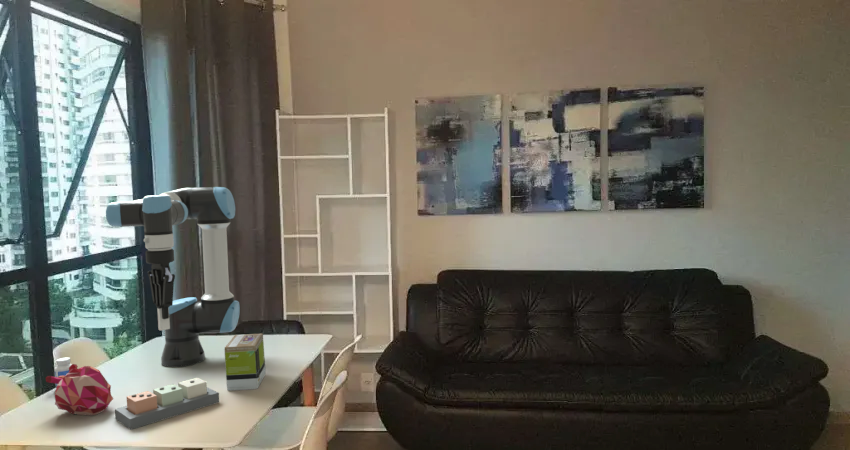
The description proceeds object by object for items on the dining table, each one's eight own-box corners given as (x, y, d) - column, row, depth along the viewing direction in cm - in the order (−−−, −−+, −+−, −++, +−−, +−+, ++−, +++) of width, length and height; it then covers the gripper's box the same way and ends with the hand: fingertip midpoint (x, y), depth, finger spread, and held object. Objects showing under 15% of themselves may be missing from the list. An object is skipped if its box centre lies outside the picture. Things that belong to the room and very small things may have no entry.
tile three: (127, 410, 172) (126, 395, 172) (148, 404, 177) (147, 389, 176) (135, 415, 168) (134, 400, 168) (157, 409, 173) (156, 394, 172)
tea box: (236, 375, 208) (234, 333, 207) (266, 374, 209) (264, 332, 208) (226, 391, 193) (223, 346, 192) (258, 389, 194) (256, 344, 193)
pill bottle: (78, 386, 201) (76, 357, 200) (64, 391, 196) (62, 362, 195) (66, 384, 203) (64, 356, 202) (52, 389, 198) (49, 360, 197)
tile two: (153, 402, 178) (153, 388, 177) (173, 396, 182) (173, 382, 182) (162, 407, 174) (161, 393, 173) (183, 401, 178) (182, 387, 178)
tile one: (178, 395, 183) (178, 381, 183) (197, 390, 188) (197, 376, 187) (187, 400, 179) (187, 386, 179) (207, 394, 184) (206, 380, 183)
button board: (115, 419, 172) (114, 408, 172) (202, 393, 191) (201, 384, 191) (130, 429, 165) (129, 419, 165) (219, 402, 184) (218, 392, 184)
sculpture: (130, 401, 184) (86, 371, 191) (120, 377, 176) (75, 346, 183) (90, 436, 175) (45, 403, 181) (78, 412, 166) (31, 378, 173)
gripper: (137, 248, 176) (141, 328, 178) (156, 252, 167) (160, 335, 169) (162, 246, 181) (167, 323, 183) (182, 249, 172) (187, 330, 174)
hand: (164, 329), depth 176 cm, fingers closed
